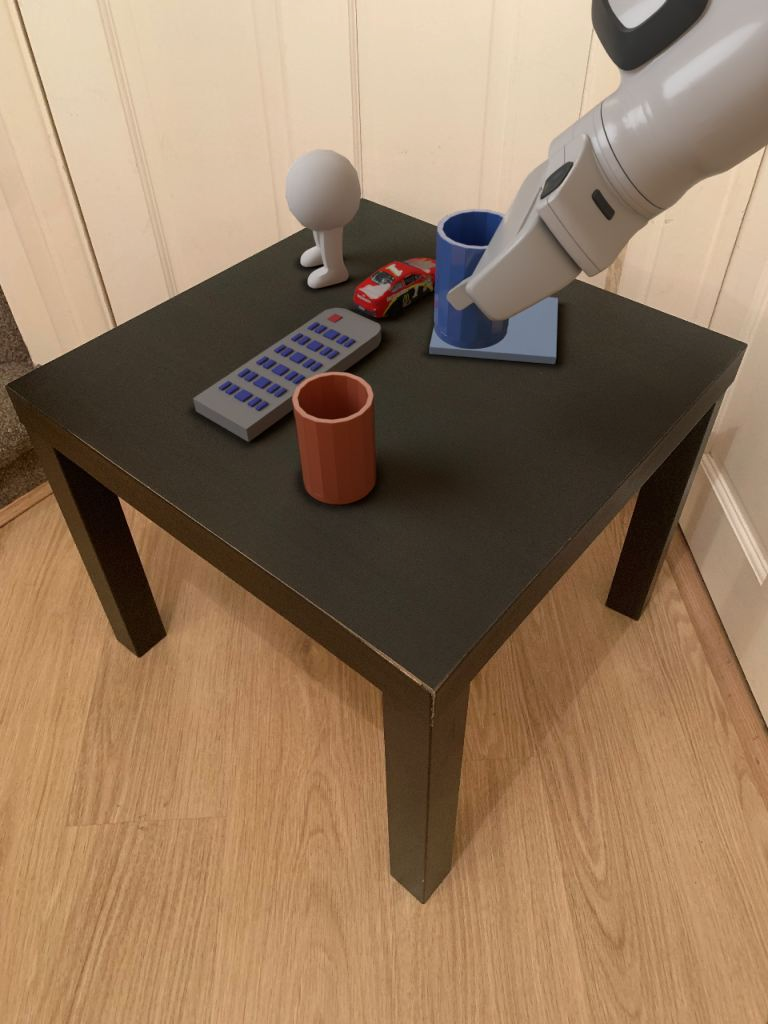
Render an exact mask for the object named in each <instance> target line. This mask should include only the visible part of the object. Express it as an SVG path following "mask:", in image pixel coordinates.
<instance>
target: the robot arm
mask: <svg viewBox="0 0 768 1024" xmlns="http://www.w3.org/2000/svg"><path fill="white" fill-rule="evenodd" d="M590 8H591V9H590V10H591V11H590V12H591V13H590V15H591V16H590V17H591V23H592V27H593V29H594V32H595V34H596V36H597V38H598V40H599V42H600V44H601V46H602V47H603V49H604V51H605V52H606V54H607V56H608V57H609V58H610V60H611V61H612V63H613V64H614V65H615V66H616V68H617V69H618V71H619V75H620V82H619V85H618V87H617V89H616V90H615V91H613V92H612V93H611V94H609V95H608V96H606V97H605V98H603V99H602V100H600V102H599V103H598V104H596V105H595V106H594V107H592V108H591V109H589V111H587V112H586V113H585V114H583V115H582V116H581V117H579V119H577V120H576V121H574V122H573V123H572V124H570V126H568V127H567V128H566V129H564V130H563V131H562V132H560V134H558V135H557V136H556V137H554V138H553V139H552V140H551V142H550V143H549V146H548V151H547V159H546V160H543V162H542V163H540V164H539V165H537V166H536V167H534V168H533V169H532V170H531V172H529V173H528V174H527V176H526V177H524V179H523V180H522V182H521V184H520V186H519V188H518V189H517V192H516V193H515V195H514V197H513V199H512V201H511V202H510V204H509V207H508V208H507V210H506V212H505V213H504V214H505V215H504V217H503V219H502V221H501V223H500V225H499V226H498V228H497V230H496V232H495V234H494V236H493V237H492V239H491V241H490V243H489V245H488V247H487V248H486V250H485V252H484V254H483V256H482V258H481V259H480V261H479V263H478V265H477V267H476V269H475V270H474V272H473V274H472V276H470V277H468V278H466V277H463V278H462V279H460V280H459V281H458V282H457V283H455V284H454V285H453V286H452V287H451V289H450V291H449V292H448V294H447V300H448V301H449V302H450V303H451V305H452V306H453V307H454V308H455V309H456V310H463V309H464V308H466V307H467V306H469V305H470V304H472V303H473V302H474V303H475V304H476V305H477V307H478V308H479V309H480V310H481V311H482V312H483V313H484V314H485V315H486V317H487V318H488V319H490V320H492V321H502V320H506V319H509V318H511V317H513V316H515V315H517V314H519V313H520V312H522V311H524V310H526V309H528V308H530V307H532V306H533V305H535V304H537V303H539V302H541V301H542V300H544V299H546V298H547V297H552V296H553V295H554V294H556V293H558V292H559V291H561V290H562V289H564V288H565V287H566V286H568V285H569V284H571V283H572V282H573V281H574V280H576V279H577V278H578V277H579V276H580V274H581V273H582V272H583V273H584V274H585V275H586V276H587V277H588V278H593V277H595V276H597V275H599V274H600V273H602V272H604V271H605V270H606V269H608V268H610V267H611V265H613V264H614V263H615V261H616V260H617V258H618V257H619V255H620V254H621V252H622V251H623V250H624V248H625V247H626V246H627V245H628V244H629V242H630V240H631V239H632V238H633V237H634V236H635V235H636V234H637V233H638V232H639V231H641V230H642V229H643V228H645V227H646V226H647V225H648V224H649V222H650V221H651V220H653V219H654V218H657V217H658V216H659V215H661V214H662V213H664V212H666V211H667V210H669V209H671V208H672V207H673V206H674V205H676V204H677V203H678V202H679V201H680V200H681V199H682V198H683V197H684V196H685V194H686V193H688V191H690V189H692V188H693V187H695V186H696V185H697V184H699V183H701V182H702V181H704V180H707V179H709V178H712V177H715V176H718V175H721V174H723V173H726V172H728V171H730V170H731V169H733V168H734V167H736V166H738V165H739V164H741V163H743V162H744V161H746V160H747V159H749V158H750V157H752V156H753V155H754V154H756V153H758V152H760V151H761V150H762V149H764V148H765V147H766V146H768V0H591V6H590Z"/></svg>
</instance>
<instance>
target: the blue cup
mask: <svg viewBox="0 0 768 1024" xmlns="http://www.w3.org/2000/svg"><path fill="white" fill-rule="evenodd" d="M504 215H505V213H502V212H499V211H495V210H491V209H484V208H483V209H481V208H470V209H462V210H457V211H455V212H452V213H449V214H447V215H445V216H444V217H442V219H440V220H439V222H438V223H437V227H436V241H435V243H436V244H435V246H436V247H435V261H436V268H435V290H434V302H433V303H434V304H433V306H434V307H433V329H434V330H435V333H436V334H437V336H438V337H439V338H440V339H441V340H442V341H444V342H445V343H447V344H449V345H452V346H455V347H458V348H464V349H482V348H487V347H490V346H493V345H495V344H497V343H499V342H500V341H502V340H503V339H504V337H505V336H506V334H507V331H508V324H509V319H506V320H502V321H492V320H490V319H488V318H487V317H486V315H485V314H484V313H483V312H482V311H481V310H480V309H479V308H478V307H477V305H476V304H475V303H474V302H473V303H472V304H470V305H469V306H467V307H466V308H464V309H463V310H456V309H455V308H454V307H453V306H452V305H451V303H450V302H449V301H448V300H447V294H448V292H449V291H450V289H451V287H452V286H453V285H454V284H455V283H457V282H458V281H459V280H460V279H462V278H463V277H466V278H468V277H470V276H472V274H473V272H474V270H475V269H476V267H477V265H478V263H479V261H480V259H481V258H482V256H483V254H484V252H485V250H486V248H487V247H488V245H489V243H490V241H491V239H492V237H493V236H494V234H495V232H496V230H497V228H498V226H499V225H500V223H501V221H502V219H503V217H504Z"/></svg>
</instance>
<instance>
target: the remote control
mask: <svg viewBox="0 0 768 1024" xmlns="http://www.w3.org/2000/svg"><path fill="white" fill-rule="evenodd" d="M381 327H382V326H381V324H380V323H378V322H376V321H375V320H372V319H369V318H367V317H365V316H362V315H360V314H358V313H356V312H354V311H351V310H349V309H347V308H342V307H333V308H329V309H325V310H323V311H321V312H320V313H318V314H317V315H315V317H312V318H311V319H310V320H309V321H306V323H304V324H303V325H301V326H300V327H298V328H296V329H295V330H293V331H292V332H290V333H289V334H287V335H286V336H284V337H283V338H281V339H280V340H279V341H276V342H275V343H274V344H273V345H271V346H269V347H267V348H266V349H265V350H263V351H262V352H260V353H258V355H256V356H254V357H253V358H251V359H250V360H248V361H247V362H245V363H244V364H242V365H241V366H239V367H237V368H236V369H235V370H233V371H232V372H230V373H228V375H226V376H224V377H223V378H221V379H220V380H219V381H217V382H215V383H214V384H212V385H211V386H210V387H208V388H206V389H205V390H203V391H202V392H201V393H199V394H198V395H196V396H195V397H193V398H192V400H193V404H194V409H195V412H197V413H198V414H200V415H202V416H203V417H205V418H206V419H208V420H210V421H211V422H214V423H215V424H217V425H218V426H221V428H224V429H225V430H227V431H229V432H231V433H232V434H234V435H236V436H237V437H239V438H241V439H242V440H244V441H245V442H247V443H250V442H251V441H252V440H254V439H255V438H256V437H258V436H259V435H260V434H262V433H263V432H265V431H266V430H267V429H268V428H270V427H272V426H273V425H274V424H276V422H278V421H279V420H281V419H282V418H284V417H285V416H286V415H288V414H289V413H290V412H291V411H293V403H292V397H293V394H294V392H295V389H296V388H297V387H298V386H299V385H300V384H301V383H302V382H303V381H304V380H306V379H308V378H310V377H312V376H315V375H317V374H321V373H328V372H344V373H345V372H346V371H347V370H348V369H350V368H351V367H352V366H353V365H355V364H356V363H357V362H359V361H360V360H362V359H363V358H365V357H366V356H367V355H368V354H370V353H371V352H372V351H373V350H376V348H378V347H379V345H380V343H381V342H382V341H381V340H382V328H381Z"/></svg>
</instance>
